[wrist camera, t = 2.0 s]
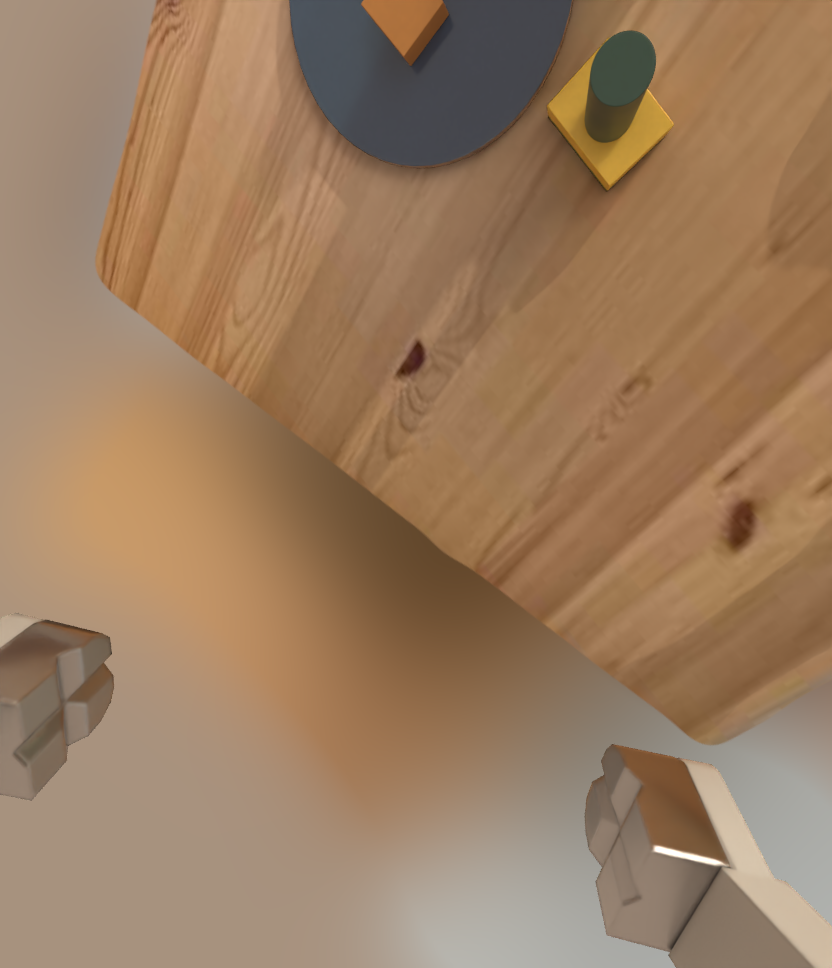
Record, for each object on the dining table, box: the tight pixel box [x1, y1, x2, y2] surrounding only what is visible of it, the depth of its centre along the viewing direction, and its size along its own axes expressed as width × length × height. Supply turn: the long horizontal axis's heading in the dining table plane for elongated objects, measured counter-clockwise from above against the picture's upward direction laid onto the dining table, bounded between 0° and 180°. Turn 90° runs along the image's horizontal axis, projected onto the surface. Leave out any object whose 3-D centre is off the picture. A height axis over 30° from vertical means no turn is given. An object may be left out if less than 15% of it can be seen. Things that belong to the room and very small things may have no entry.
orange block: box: [361, 0, 449, 66], centre depth 36 cm, size 4×4×2 cm
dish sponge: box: [547, 31, 674, 191], centre depth 32 cm, size 7×5×12 cm
